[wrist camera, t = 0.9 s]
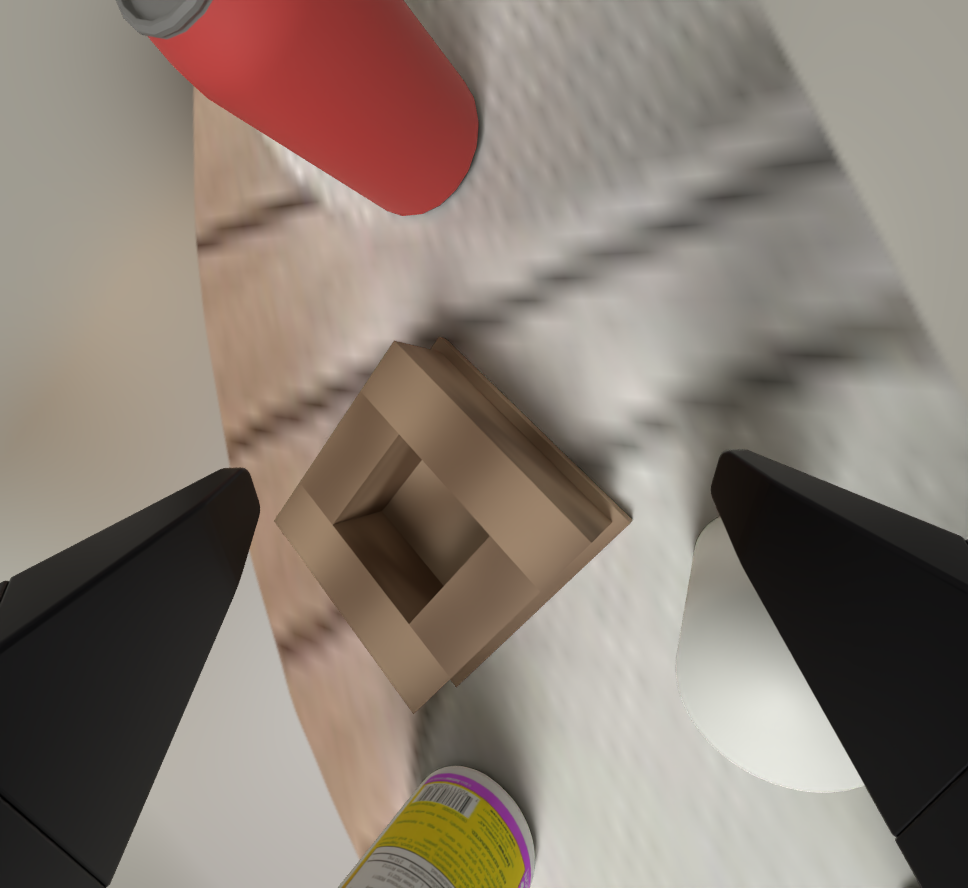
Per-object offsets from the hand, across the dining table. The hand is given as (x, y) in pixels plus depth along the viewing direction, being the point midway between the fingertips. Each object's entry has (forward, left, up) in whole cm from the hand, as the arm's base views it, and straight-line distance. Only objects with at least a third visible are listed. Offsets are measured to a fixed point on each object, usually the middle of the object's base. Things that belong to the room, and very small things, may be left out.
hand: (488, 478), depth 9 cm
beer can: (+16, -4, -12) cm, 21 cm away
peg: (-7, 0, -12) cm, 13 cm away
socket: (+3, +8, -12) cm, 14 cm away
